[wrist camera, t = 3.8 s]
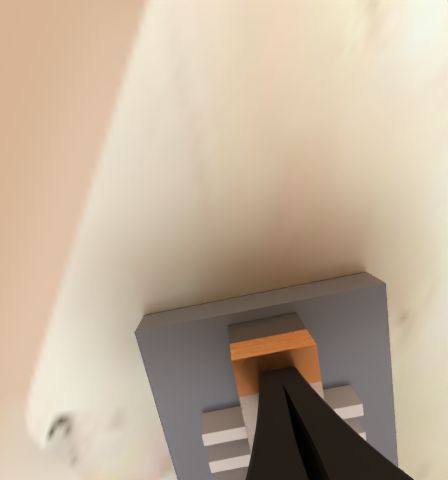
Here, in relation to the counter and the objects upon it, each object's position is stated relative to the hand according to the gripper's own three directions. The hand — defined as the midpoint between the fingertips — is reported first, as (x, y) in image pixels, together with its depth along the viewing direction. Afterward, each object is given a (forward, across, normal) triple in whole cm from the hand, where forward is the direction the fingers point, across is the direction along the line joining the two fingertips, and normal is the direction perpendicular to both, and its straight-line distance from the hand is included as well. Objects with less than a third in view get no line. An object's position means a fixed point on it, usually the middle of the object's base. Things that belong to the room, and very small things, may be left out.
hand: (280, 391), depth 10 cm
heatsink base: (+4, 0, +4) cm, 6 cm away
